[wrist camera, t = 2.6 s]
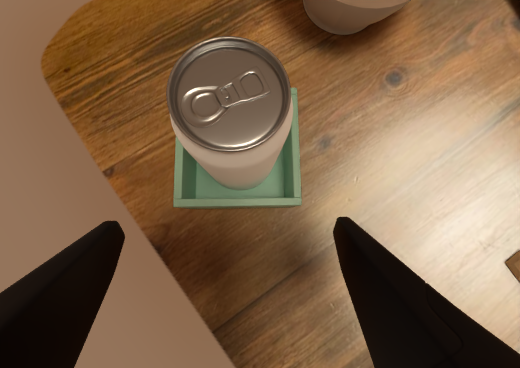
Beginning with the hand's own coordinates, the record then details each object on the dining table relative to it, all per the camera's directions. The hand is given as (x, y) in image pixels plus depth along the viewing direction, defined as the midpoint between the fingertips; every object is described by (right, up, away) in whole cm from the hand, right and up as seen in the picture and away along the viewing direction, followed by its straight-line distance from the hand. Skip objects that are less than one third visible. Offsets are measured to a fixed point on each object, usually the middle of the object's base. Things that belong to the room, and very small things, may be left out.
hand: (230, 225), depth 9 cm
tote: (-1, +4, +13) cm, 14 cm away
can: (-1, +4, +13) cm, 14 cm away
